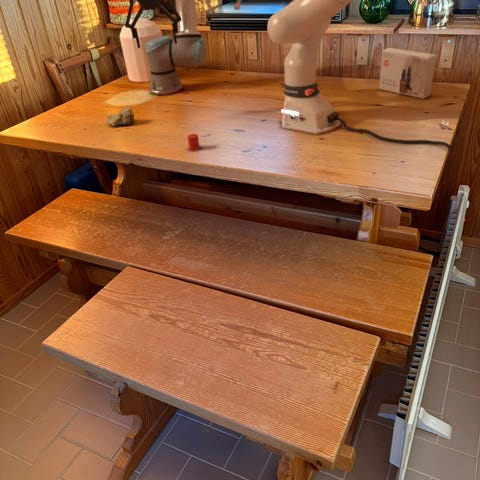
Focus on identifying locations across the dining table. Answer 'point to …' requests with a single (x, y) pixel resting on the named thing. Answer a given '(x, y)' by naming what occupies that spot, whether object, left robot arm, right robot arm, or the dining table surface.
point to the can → (193, 142)
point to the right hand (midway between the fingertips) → (224, 11)
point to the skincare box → (407, 72)
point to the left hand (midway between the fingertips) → (157, 45)
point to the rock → (121, 118)
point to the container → (138, 49)
